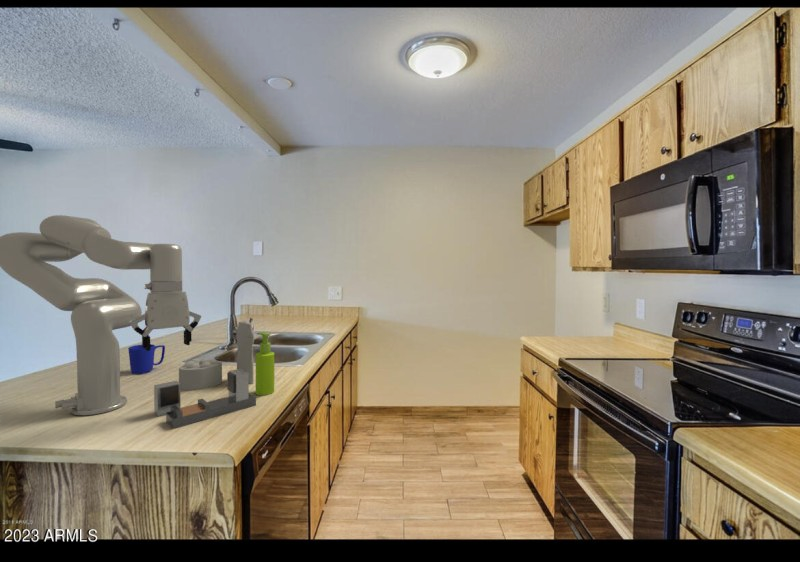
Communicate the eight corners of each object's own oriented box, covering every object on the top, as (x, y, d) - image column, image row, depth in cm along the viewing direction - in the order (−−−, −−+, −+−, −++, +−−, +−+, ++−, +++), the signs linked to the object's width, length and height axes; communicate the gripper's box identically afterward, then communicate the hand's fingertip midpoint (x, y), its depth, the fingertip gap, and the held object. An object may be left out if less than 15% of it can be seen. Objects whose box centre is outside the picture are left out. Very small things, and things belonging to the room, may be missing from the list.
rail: (172, 428, 91) (172, 389, 90) (166, 421, 95) (165, 383, 95) (255, 405, 107) (256, 371, 107) (247, 399, 111) (247, 367, 111)
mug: (169, 369, 140) (169, 344, 140) (134, 376, 130) (133, 350, 130) (159, 365, 145) (159, 341, 144) (124, 372, 135) (124, 347, 134)
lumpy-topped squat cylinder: (225, 382, 126) (225, 359, 126) (187, 393, 115) (187, 367, 115) (209, 377, 132) (209, 354, 132) (172, 386, 121) (172, 362, 121)
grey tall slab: (231, 379, 130) (231, 320, 129) (242, 376, 133) (242, 319, 132) (247, 385, 124) (248, 323, 123) (258, 382, 127) (258, 322, 126)
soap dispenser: (266, 387, 123) (267, 330, 122) (277, 391, 118) (278, 333, 117) (250, 391, 118) (250, 332, 117) (261, 396, 114) (261, 335, 113)
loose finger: (154, 412, 100) (154, 385, 100) (176, 407, 105) (176, 380, 104) (158, 417, 98) (158, 388, 97) (181, 411, 102) (181, 384, 101)
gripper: (131, 289, 91) (133, 355, 91) (204, 287, 103) (205, 344, 104) (125, 288, 96) (127, 350, 97) (196, 285, 108) (196, 340, 109)
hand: (167, 347), depth 100 cm, fingers open, 9 cm apart
